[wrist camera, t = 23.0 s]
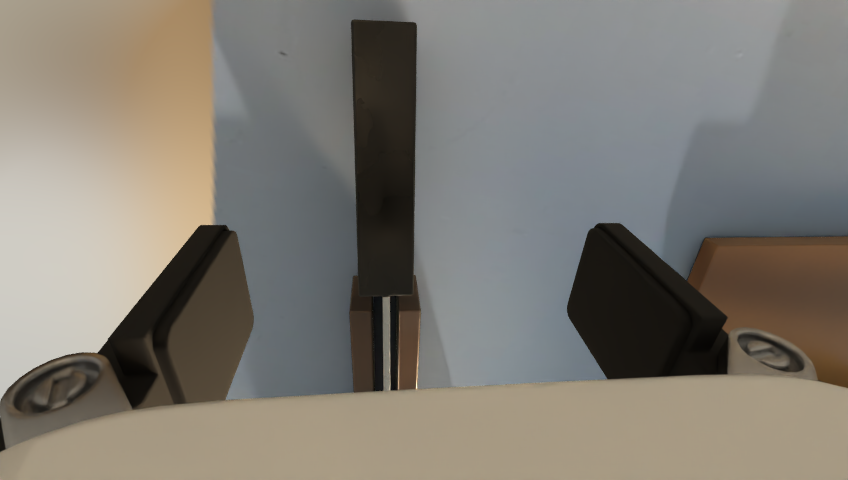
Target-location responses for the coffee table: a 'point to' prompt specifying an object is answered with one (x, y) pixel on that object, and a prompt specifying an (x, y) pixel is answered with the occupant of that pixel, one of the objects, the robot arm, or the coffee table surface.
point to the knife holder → (364, 340)
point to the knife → (384, 161)
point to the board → (783, 292)
